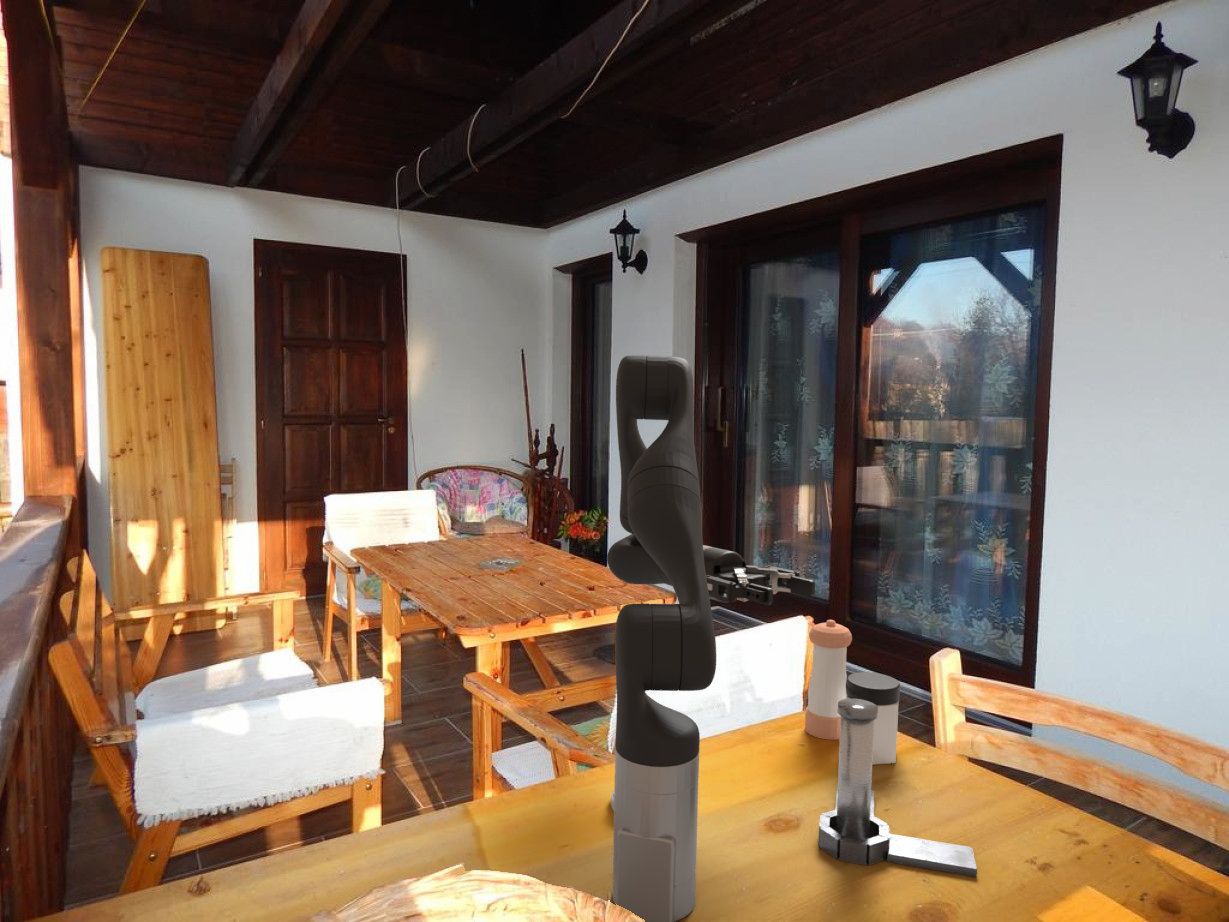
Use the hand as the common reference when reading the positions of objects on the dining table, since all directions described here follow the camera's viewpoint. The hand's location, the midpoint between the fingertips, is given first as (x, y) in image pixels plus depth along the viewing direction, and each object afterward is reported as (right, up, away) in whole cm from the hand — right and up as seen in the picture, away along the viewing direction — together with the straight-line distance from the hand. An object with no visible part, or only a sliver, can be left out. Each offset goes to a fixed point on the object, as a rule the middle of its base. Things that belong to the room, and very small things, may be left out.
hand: (792, 593), depth 109 cm
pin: (+6, -31, -7) cm, 32 cm away
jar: (+17, -29, +20) cm, 39 cm away
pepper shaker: (+12, -28, +29) cm, 43 cm away
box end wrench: (+12, -31, -3) cm, 33 cm away
